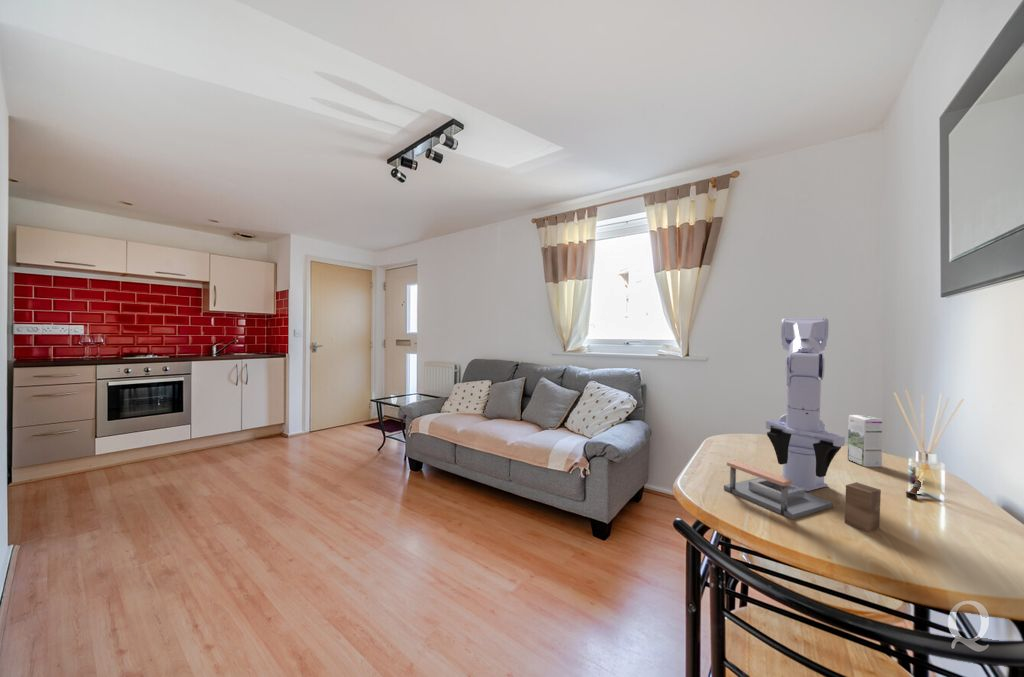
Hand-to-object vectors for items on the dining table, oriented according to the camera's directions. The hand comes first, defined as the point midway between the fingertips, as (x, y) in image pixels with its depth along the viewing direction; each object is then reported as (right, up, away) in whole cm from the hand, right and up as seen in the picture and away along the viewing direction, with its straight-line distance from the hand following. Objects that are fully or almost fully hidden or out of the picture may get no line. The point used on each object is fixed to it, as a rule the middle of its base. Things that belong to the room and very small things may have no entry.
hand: (800, 469), depth 81 cm
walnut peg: (+10, -10, -4) cm, 15 cm away
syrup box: (+45, -10, +33) cm, 57 cm away
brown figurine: (+37, -11, +11) cm, 40 cm away
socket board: (0, -10, +8) cm, 13 cm away
